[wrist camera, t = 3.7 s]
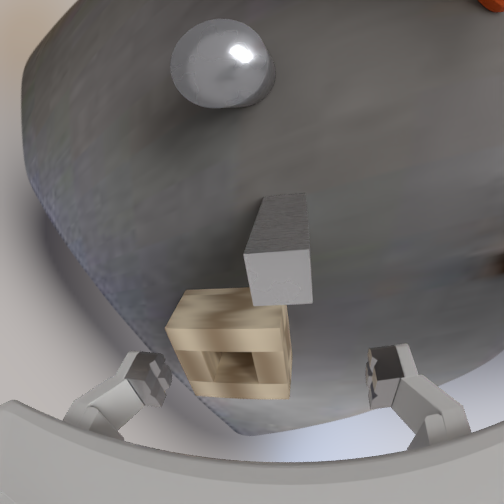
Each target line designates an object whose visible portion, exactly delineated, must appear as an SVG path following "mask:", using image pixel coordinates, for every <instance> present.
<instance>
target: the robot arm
mask: <svg viewBox="0 0 504 504" xmlns="http://www.w3.org/2000/svg"><path fill="white" fill-rule="evenodd" d="M165 360H166V359H165V358H164V356H163V354H160V353H150V352H139V351H130V352H129V353H128V354H127V355H126V357H125V359H124V361H123V362H122V364H121V366H120V367H119V369H118V371H117V373H116V374H115V376H114V377H110V378H109V379H107V380H105V381H104V382H103V383H101V384H99V385H98V386H96V387H95V388H93V389H92V390H90V391H89V392H87V393H85V394H84V395H82V396H81V397H79V398H78V399H76V400H75V401H74V402H73V403H72V405H71V407H70V408H69V410H68V412H67V414H66V415H65V417H64V419H63V421H61V420H59V419H56V418H54V417H52V416H50V415H47V414H45V413H43V412H40V411H38V410H36V409H34V408H32V407H29V406H27V405H25V404H23V403H21V402H19V401H17V400H11V401H8V402H6V403H4V404H2V405H0V504H504V421H502V422H500V423H497V424H495V425H492V426H489V427H487V428H484V429H481V430H479V431H476V432H473V433H471V430H470V426H469V423H468V421H467V417H466V414H465V411H464V408H463V406H462V405H461V404H460V403H458V402H457V401H456V400H454V399H453V398H452V397H450V396H449V395H448V394H447V393H445V392H444V391H443V390H441V389H440V388H439V387H438V386H436V385H435V384H434V383H432V382H431V381H430V380H429V379H427V378H426V377H425V376H423V375H418V372H417V369H416V366H415V363H414V360H413V357H412V354H411V351H410V348H409V345H408V344H407V343H405V344H398V345H391V346H384V347H377V348H369V350H368V362H367V363H366V374H365V376H366V385H367V387H368V388H369V394H368V398H369V404H370V409H377V408H385V407H391V408H392V409H393V410H394V411H395V412H396V413H397V414H398V416H399V417H400V418H401V419H402V420H403V421H404V422H405V423H406V424H407V425H408V427H409V428H410V429H411V430H412V431H413V432H414V433H415V434H416V436H415V437H414V439H413V440H412V442H411V444H410V445H409V447H408V448H407V450H406V451H402V452H397V453H391V454H385V455H379V456H372V457H364V458H356V459H348V460H336V461H321V462H295V463H294V462H289V463H288V462H287V463H286V462H251V461H237V460H226V459H216V458H208V457H200V456H193V455H187V454H181V453H175V452H169V451H165V450H160V449H155V448H150V447H146V446H141V445H137V444H133V443H130V442H126V441H124V438H123V437H122V436H121V435H120V434H119V432H118V430H119V429H120V428H121V427H122V426H123V425H124V424H126V423H127V422H128V421H129V420H130V419H131V418H132V417H133V416H134V415H136V414H137V413H138V412H139V411H140V410H141V409H142V408H143V407H144V405H147V406H155V407H162V405H163V403H164V400H165V398H166V393H165V390H167V389H168V388H169V387H170V385H171V382H172V372H171V369H170V367H169V366H168V365H166V364H165V363H164V362H165Z"/></svg>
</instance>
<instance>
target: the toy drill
mask: <svg viewBox="0 0 504 504" xmlns="http://www.w3.org/2000/svg"><path fill="white" fill-rule="evenodd" d="M478 1H479V2H480V3H481V4H482V5H483V6H484V7H485V8H487V9H488V10H490V11H492V12H503V11H504V0H478Z"/></svg>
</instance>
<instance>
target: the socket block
mask: <svg viewBox="0 0 504 504" xmlns="http://www.w3.org/2000/svg"><path fill="white" fill-rule="evenodd" d="M165 330H166V332H167V335H168V337H169V339H170V342H171V344H172V346H173V348H174V351H175V353H176V355H177V357H178V359H179V361H180V364H181V366H182V368H183V370H184V372H185V374H186V376H187V378H188V380H189V382H190V384H191V386H192V389H193V391H194V392H195V394H196V396H207V397H221V398H240V399H289V397H290V384H291V370H292V349H291V340H290V331H289V322H288V313H287V305H271V306H253V301H252V296H251V291H250V287H244V288H222V289H197V290H186V291H185V292H184V294H183V296H182V298H181V300H180V301H179V303H178V305H177V307H176V309H175V310H174V312H173V314H172V316H171V318H170V320H169V321H168V323H167V325H166V327H165Z"/></svg>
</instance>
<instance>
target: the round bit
mask: <svg viewBox="0 0 504 504" xmlns="http://www.w3.org/2000/svg"><path fill="white" fill-rule="evenodd" d="M170 69H171V76H172V79H173V82H174V84H175V86H176V88H177V89H178V91H179V92H180V93H181V94H182V95H183V96H184V97H185V98H186V99H188V100H189V101H191V102H192V103H194V104H197V105H199V106H203V107H208V108H231V107H247V106H251V105H254V104H256V103H258V102H260V101H261V100H263V99H264V98H265V97H266V96H267V95H268V94H269V92H270V91H271V90H272V88H273V86H274V83H275V78H276V69H275V65H274V62H273V60H272V58H271V56H270V54H269V52H268V51H267V49H266V47H265V45H264V43H263V41H262V40H261V38H260V37H259V35H258V34H257V33H256V32H255V31H254V30H253V29H252V28H250V27H249V26H247V25H245V24H243V23H241V22H239V21H235V20H231V19H214V20H209V21H206V22H203V23H200V24H198V25H196V26H195V27H193V28H191V29H190V30H189V31H188V32H186V33H185V34H184V35H183V36H182V38H181V39H180V40H179V41H178V43H177V45H176V46H175V49H174V51H173V54H172V57H171V67H170Z"/></svg>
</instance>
